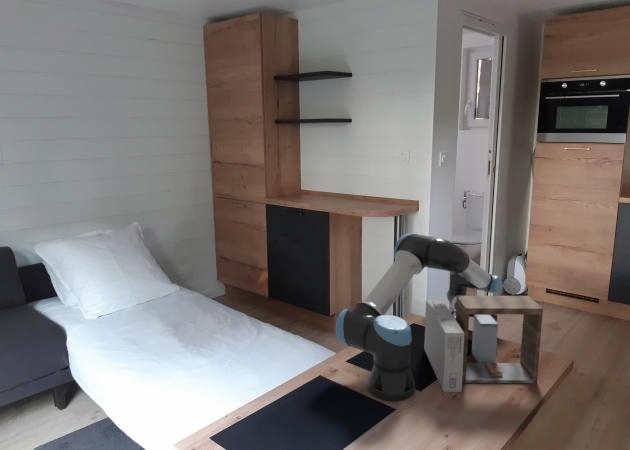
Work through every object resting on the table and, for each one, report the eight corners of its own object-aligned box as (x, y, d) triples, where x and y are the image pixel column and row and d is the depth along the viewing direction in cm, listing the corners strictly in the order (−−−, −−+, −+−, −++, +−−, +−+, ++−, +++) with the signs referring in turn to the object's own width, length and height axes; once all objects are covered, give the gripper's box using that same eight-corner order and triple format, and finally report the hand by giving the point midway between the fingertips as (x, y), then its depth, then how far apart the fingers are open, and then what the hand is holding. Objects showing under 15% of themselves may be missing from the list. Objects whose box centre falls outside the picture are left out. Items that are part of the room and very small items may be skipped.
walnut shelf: (462, 382, 162) (465, 308, 157) (453, 365, 174) (456, 295, 169) (536, 383, 161) (542, 308, 156) (523, 365, 173) (528, 295, 168)
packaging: (462, 391, 157) (464, 333, 153) (442, 391, 157) (445, 333, 153) (440, 349, 187) (442, 299, 183) (424, 349, 187) (425, 299, 183)
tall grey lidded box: (478, 363, 175) (480, 324, 172) (471, 352, 184) (473, 314, 181) (495, 363, 175) (498, 324, 172) (487, 352, 184) (490, 314, 181)
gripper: (492, 314, 208) (509, 335, 188) (433, 314, 209) (443, 335, 189) (493, 297, 207) (510, 316, 186) (433, 297, 208) (444, 316, 187)
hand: (477, 326), depth 187 cm, fingers open, 13 cm apart
